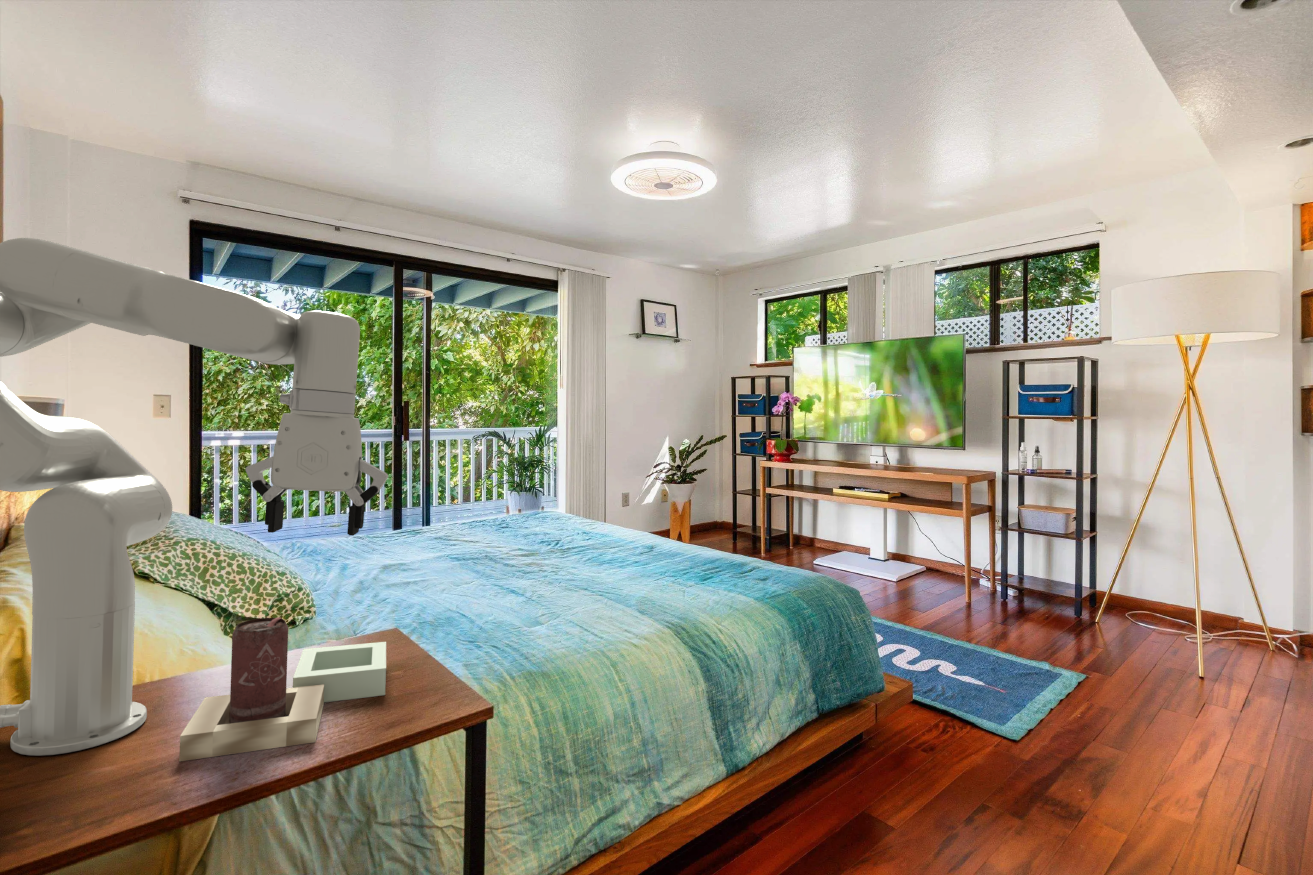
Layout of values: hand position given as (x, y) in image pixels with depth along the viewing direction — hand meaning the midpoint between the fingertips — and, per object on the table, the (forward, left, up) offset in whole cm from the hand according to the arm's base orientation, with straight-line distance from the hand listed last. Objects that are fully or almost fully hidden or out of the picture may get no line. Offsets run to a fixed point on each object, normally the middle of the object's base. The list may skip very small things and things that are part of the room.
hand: (314, 532), depth 84 cm
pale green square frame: (+4, +11, -25) cm, 28 cm away
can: (-5, -2, -26) cm, 26 cm away
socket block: (-5, -2, -25) cm, 26 cm away
